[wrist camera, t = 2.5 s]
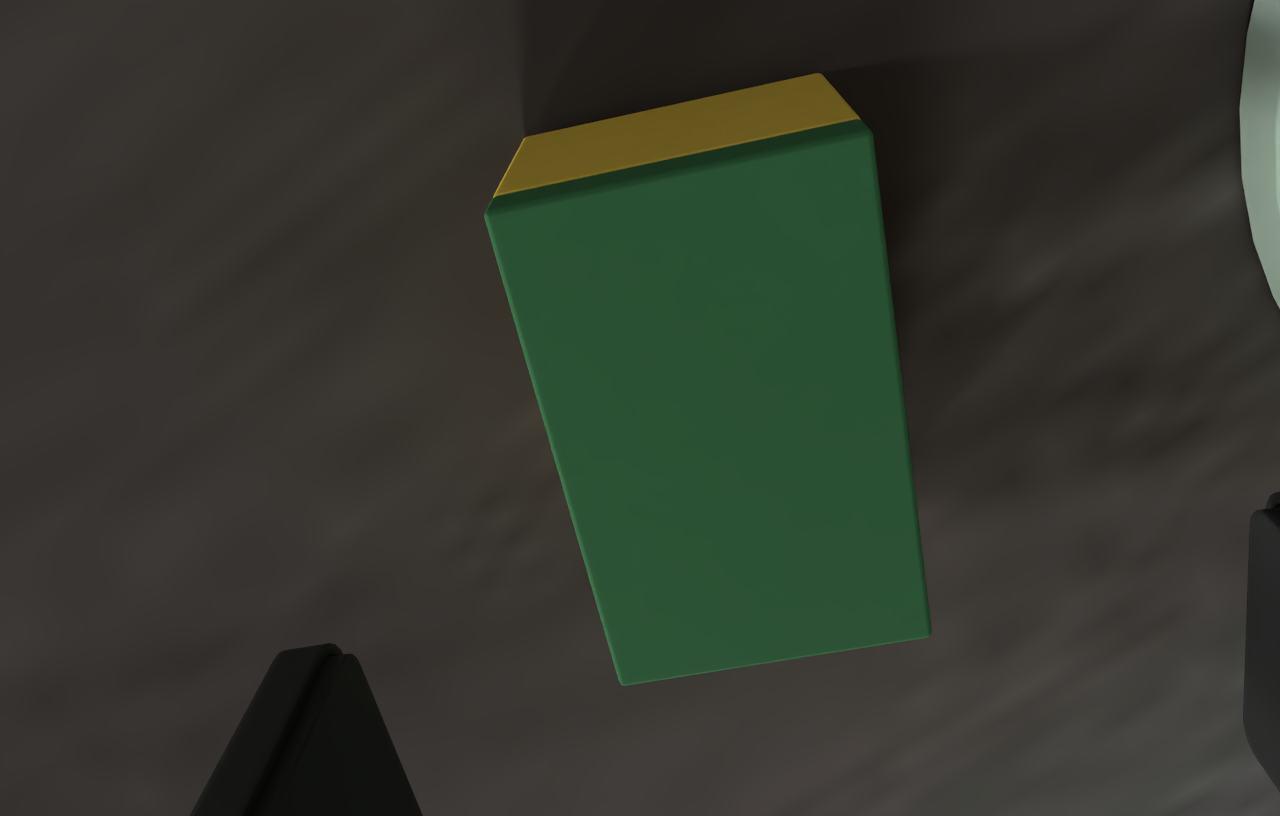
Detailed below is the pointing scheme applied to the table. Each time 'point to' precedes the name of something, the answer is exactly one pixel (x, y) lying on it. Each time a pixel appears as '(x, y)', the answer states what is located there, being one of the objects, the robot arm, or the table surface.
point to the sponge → (720, 376)
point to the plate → (1262, 135)
